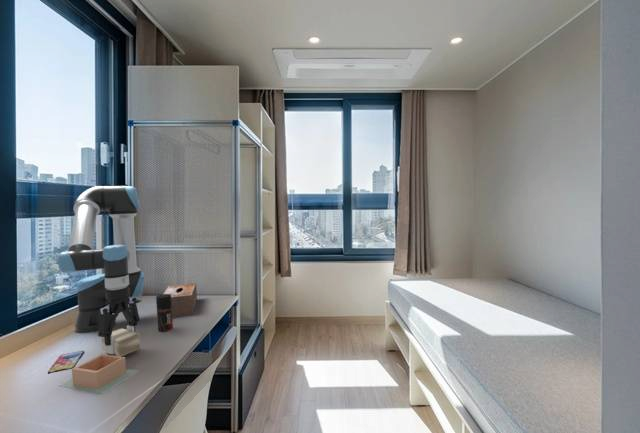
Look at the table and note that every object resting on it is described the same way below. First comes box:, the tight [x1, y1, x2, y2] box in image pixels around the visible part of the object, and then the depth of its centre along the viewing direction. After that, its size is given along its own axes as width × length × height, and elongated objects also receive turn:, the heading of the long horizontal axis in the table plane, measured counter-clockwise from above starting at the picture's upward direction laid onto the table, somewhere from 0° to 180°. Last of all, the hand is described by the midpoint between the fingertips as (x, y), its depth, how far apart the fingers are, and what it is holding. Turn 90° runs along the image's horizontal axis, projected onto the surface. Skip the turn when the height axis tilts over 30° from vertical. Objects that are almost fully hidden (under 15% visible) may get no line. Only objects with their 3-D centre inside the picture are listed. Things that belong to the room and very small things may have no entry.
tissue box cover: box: [162, 282, 198, 318], centre depth 172 cm, size 26×14×10 cm, turn 16°
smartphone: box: [47, 350, 85, 375], centre depth 116 cm, size 7×1×15 cm
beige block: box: [101, 327, 141, 357], centre depth 120 cm, size 12×7×6 cm, turn 59°
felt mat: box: [58, 368, 140, 395], centre depth 103 cm, size 18×13×1 cm
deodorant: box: [155, 293, 174, 333], centre depth 143 cm, size 6×6×15 cm
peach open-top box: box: [71, 353, 127, 389], centre depth 103 cm, size 10×10×5 cm
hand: (121, 347), depth 120 cm, fingers closed on beige block, 8 cm apart
